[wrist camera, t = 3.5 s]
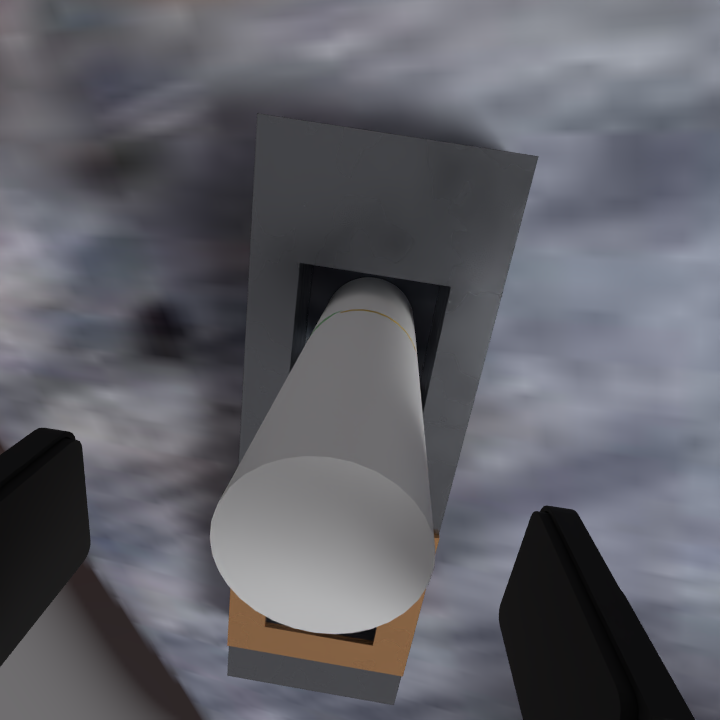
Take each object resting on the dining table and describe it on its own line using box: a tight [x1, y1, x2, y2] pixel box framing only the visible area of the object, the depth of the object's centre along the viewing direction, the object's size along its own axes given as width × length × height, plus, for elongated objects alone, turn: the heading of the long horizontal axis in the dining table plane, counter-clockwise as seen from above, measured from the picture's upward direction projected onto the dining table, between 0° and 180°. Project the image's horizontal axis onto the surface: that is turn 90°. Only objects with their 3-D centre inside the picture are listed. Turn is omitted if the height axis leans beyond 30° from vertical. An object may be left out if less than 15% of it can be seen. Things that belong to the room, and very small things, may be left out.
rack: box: [227, 113, 538, 705], centre depth 24 cm, size 30×10×4 cm, turn 172°
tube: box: [210, 277, 435, 634], centre depth 16 cm, size 4×4×15 cm
